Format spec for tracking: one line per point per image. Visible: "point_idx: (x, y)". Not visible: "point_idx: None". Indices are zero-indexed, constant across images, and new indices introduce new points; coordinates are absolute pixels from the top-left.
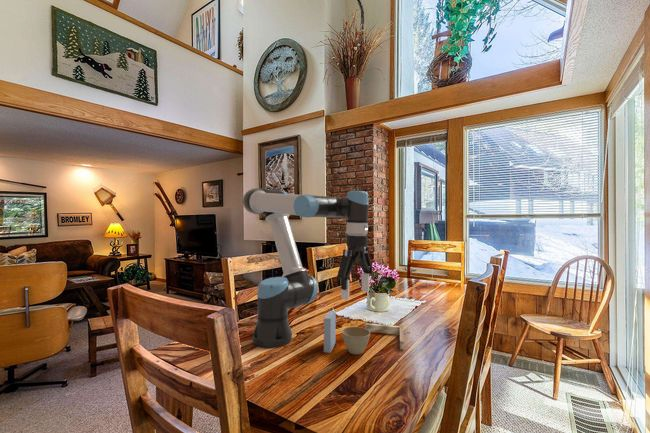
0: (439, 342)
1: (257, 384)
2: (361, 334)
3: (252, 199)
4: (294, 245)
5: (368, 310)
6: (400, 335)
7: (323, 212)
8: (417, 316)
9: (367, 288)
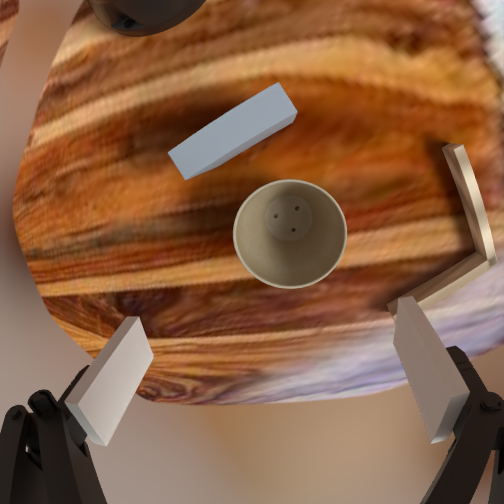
0: (471, 343)
1: (25, 175)
2: (335, 222)
3: None
4: None
5: None
6: (433, 295)
7: None
8: None
9: (400, 354)
